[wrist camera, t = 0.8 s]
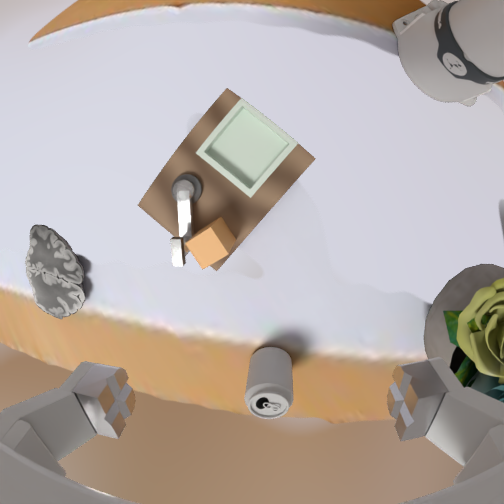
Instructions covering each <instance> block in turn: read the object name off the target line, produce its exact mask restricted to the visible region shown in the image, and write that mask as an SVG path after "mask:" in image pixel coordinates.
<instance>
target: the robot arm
mask: <svg viewBox="0 0 504 504" xmlns="http://www.w3.org/2000/svg"><path fill="white" fill-rule="evenodd" d="M403 23H405V25H404V24H403ZM392 26H393V29H394V32H395V34H396V36H397V38H398V52H399V57H400V61H401V63H402V66H403V68H404V70H405V72H406V74H407V75H408V76H409V78H410V79H411V81H412V82H413V83H414V84H415V85H416V86H417V87H418V88H419V89H420V90H421V91H422V92H423V93H425V94H426V95H428V96H429V97H431V98H433V99H435V100H437V101H441V102H459V103H461V104H463V105H466V106H472V105H474V104H475V101H476V99H477V96H480V95H483V94H485V93H488V92H490V91H491V87H492V84H494V83H497V82H500V81H502V80H504V0H459V1H455V2H452V3H449V4H447V3H446V2H444V1H441V0H440V1H437V0H433V1H431V2H430V3H429V4H428V5H427V6H425V7H423V8H420V9H418V10H416V11H414V12H412V13H410V14H408V15H405V16H403V17H401V18H399V19H397V20H396V21H394V22H393V24H392ZM393 378H394V381H395V382H394V383H393V384H392V385H391V386H390V387H389V391H388V395H387V405H388V410H389V412H390V415H391V416H392V417H394V418H395V419H397V421H396V424H395V428H396V431H397V433H398V436H399V439H400V441H405V440H409V439H413V438H418V437H422V436H425V437H426V438H427V439H428V440H430V441H431V442H433V443H434V444H435V445H436V446H437V447H439V448H440V449H441V450H443V451H444V452H445V453H447V454H448V455H449V456H450V457H452V458H453V459H454V460H456V461H457V462H459V463H460V464H461V465H462V466H464V467H463V469H462V470H461V471H460V472H459V473H458V475H457V476H456V477H455V479H454V481H453V482H454V485H453V486H450V487H448V488H445V489H442V490H440V491H437V492H434V493H431V494H428V495H425V496H422V497H419V498H416V499H413V500H409V501H406V502H403V503H399V504H504V403H503V402H501V401H498V400H496V399H494V398H492V397H489V396H487V395H485V394H483V393H481V392H478V391H476V390H474V389H472V388H470V387H465V388H464V387H463V386H462V384H461V383H460V382H459V380H458V379H457V377H456V376H455V375H454V373H453V372H452V370H451V369H450V368H449V366H448V365H447V364H446V362H445V361H444V360H443V359H442V358H441V357H437V358H432V359H428V360H425V361H419V362H414V363H409V364H403V365H397V366H396V367H395V369H394V372H393ZM127 380H128V375H127V373H126V370H125V369H123V368H120V367H114V366H109V365H103V364H98V363H97V364H96V363H92V362H87V361H85V362H81V364H80V365H79V366H78V367H77V368H76V369H75V370H74V372H73V373H72V374H71V375H70V376H69V377H68V379H67V380H66V381H65V382H64V383H63V384H62V385H61V387H60V388H59V389H58V388H54V389H52V390H49V391H47V392H44V393H42V394H40V395H38V396H35V397H33V398H30V399H28V400H26V401H23V402H20V403H18V404H16V405H13V406H10V407H8V408H6V409H3V411H2V412H1V413H0V504H140V503H136V502H133V501H129V500H126V499H123V498H119V497H116V496H113V495H110V494H107V493H104V492H101V491H98V490H96V489H93V488H90V487H87V486H85V485H83V484H80V483H78V482H75V481H73V480H71V479H68V478H66V477H65V475H66V472H65V470H64V468H63V467H62V466H61V465H60V464H59V463H58V461H59V460H60V459H62V458H64V457H65V456H67V455H68V454H70V453H71V452H72V451H74V450H76V449H77V448H78V447H80V446H81V445H83V444H84V443H86V442H87V441H89V440H90V439H91V438H93V437H94V436H96V434H100V435H104V436H109V437H113V438H119V437H120V435H121V433H122V431H123V430H124V428H125V426H126V423H125V418H127V417H128V416H130V415H131V414H132V412H133V410H134V407H135V394H134V391H133V389H132V388H131V387H130V386H129V385H128V384H127V383H126V382H127Z"/></svg>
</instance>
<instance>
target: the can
mask: <svg viewBox="0 0 504 504" xmlns="http://www.w3.org/2000/svg"><path fill="white" fill-rule="evenodd" d="M245 403H246V405H247V406H248V409H249V411H250V412H251V413H252V414H253V415H255V416H257V417H260V418H263V419H274V418H278V417H281V416H283V415H284V414H285V413H286V412H287V411H288V409H289V407H290V406H291V405H292V403H293V379H292V361H291V358H290V356H289V354H288V353H286V352H285V351H284V350H282V349H279V348H275V347H266V348H262V349H259V350H258V351H256V352H255V353H254V354H253V355H252V357H251V359H250V365H249V372H248V379H247V385H246V392H245Z"/></svg>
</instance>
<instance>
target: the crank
mask: <svg viewBox="0 0 504 504" xmlns="http://www.w3.org/2000/svg"><path fill="white" fill-rule="evenodd" d="M195 192H196V188H195V185H194V184H193V182H191V181H190V180H180V181H178V182H177V183H175V185H174V187H173V195H174V197H175V198H176V199H177V203H178V218H179V232H180V237H173V238H172V239H170V242H171V252H172V262H173V266H183V265H184V264H185V263H186V262H185V256H186V255H187V254H188V252H189V251H190V250H189V249H188V247H187V246H186V244H185V243H186V242H187V241H188V240H189V239H191V238H192V237H193V236H194V225H193V208H192V198H193V197H194V195H195Z"/></svg>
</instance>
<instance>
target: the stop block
mask: <svg viewBox="0 0 504 504" xmlns="http://www.w3.org/2000/svg"><path fill="white" fill-rule="evenodd" d="M235 241H236V238H235V237H234V235H233V234H232V232H231V231H230V229H229V228H228V226H227V225H226V223H225V221H224V220H223V218H222V217H220V218H218V219H217V220H215V221H213V222H212V223H210V224H209V225H207V226H206V227H204V228H202V229H201V230H199V231H198V232H197V233H196V234H195V235H194V236H193V237H192V238H191V239H189V240H188V241H187V242H186V243H185V244H186V246H187V247H188V249H189V250H190V251H191V253H192V254H193V256H194V257H195V259H196V260H197V262H198V263H199V265H200V266H201V268H202V269H205V268H206V267H208V266H210V265H211V264H213V263H215V262H216V261H218V260H220V259H222V258H223V257H225V256H227V255H228V254H229V253H230V251H231V249H232V247H233V245H234V243H235Z"/></svg>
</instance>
